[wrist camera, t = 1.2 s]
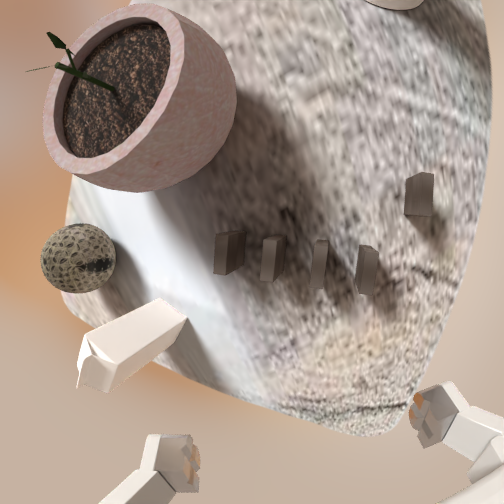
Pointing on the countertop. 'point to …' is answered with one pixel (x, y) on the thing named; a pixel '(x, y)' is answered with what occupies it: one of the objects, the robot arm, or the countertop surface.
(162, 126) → the plant pot
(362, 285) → the domino
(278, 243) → the domino
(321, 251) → the domino
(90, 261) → the decorative egg
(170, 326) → the milk
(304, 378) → the countertop surface
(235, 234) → the domino
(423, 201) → the domino
